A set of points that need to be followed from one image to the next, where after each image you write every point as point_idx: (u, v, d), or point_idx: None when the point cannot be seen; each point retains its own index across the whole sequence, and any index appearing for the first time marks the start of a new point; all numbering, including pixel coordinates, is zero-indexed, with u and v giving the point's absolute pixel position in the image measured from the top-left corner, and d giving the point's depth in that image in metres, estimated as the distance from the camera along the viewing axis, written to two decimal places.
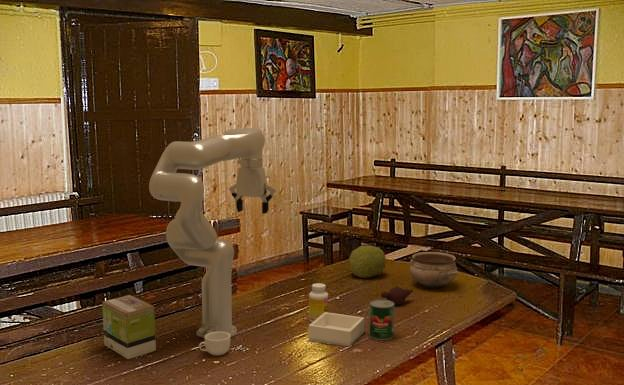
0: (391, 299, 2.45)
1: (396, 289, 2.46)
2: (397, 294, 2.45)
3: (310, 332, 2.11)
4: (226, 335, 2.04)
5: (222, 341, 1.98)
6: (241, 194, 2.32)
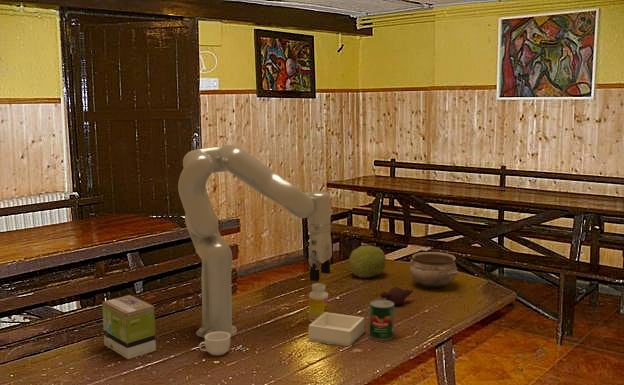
0: (390, 299, 2.45)
1: (396, 289, 2.46)
2: (397, 294, 2.45)
3: (310, 332, 2.11)
4: (226, 335, 2.04)
5: (222, 341, 1.98)
6: (324, 260, 2.23)
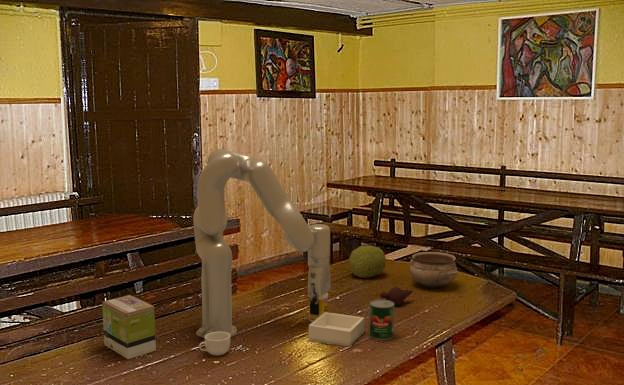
0: (390, 299, 2.45)
1: (395, 289, 2.46)
2: (396, 295, 2.44)
3: (310, 332, 2.11)
4: (226, 335, 2.04)
5: (222, 341, 1.98)
6: (323, 293, 2.25)
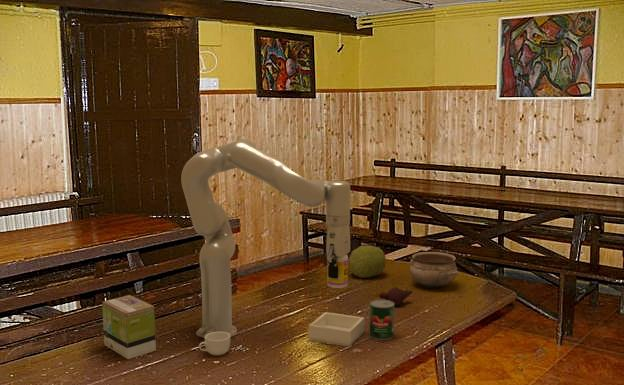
0: (389, 300, 2.44)
1: (394, 290, 2.45)
2: (395, 295, 2.44)
3: (310, 332, 2.11)
4: (226, 335, 2.04)
5: (222, 341, 1.98)
6: (342, 255, 2.08)
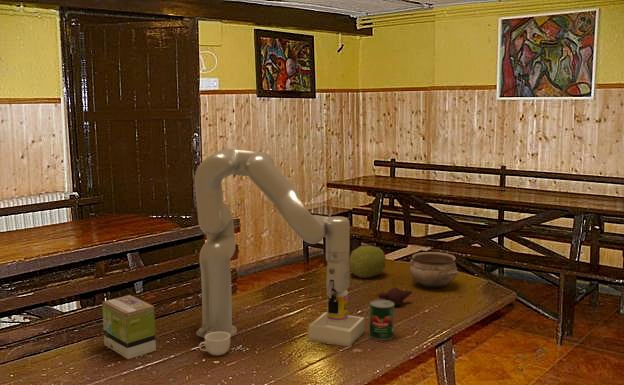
0: (389, 300, 2.44)
1: (394, 290, 2.45)
2: (395, 295, 2.44)
3: (310, 332, 2.11)
4: (226, 335, 2.04)
5: (222, 341, 1.98)
6: (342, 290, 2.10)
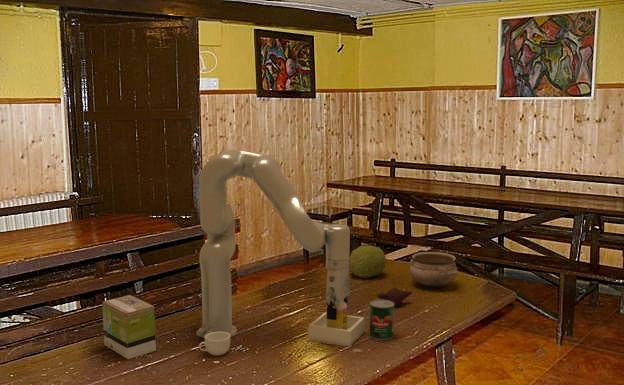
0: None
1: (394, 290, 2.45)
2: (394, 295, 2.43)
3: (310, 332, 2.11)
4: (226, 335, 2.04)
5: (222, 341, 1.98)
6: (342, 298, 2.10)
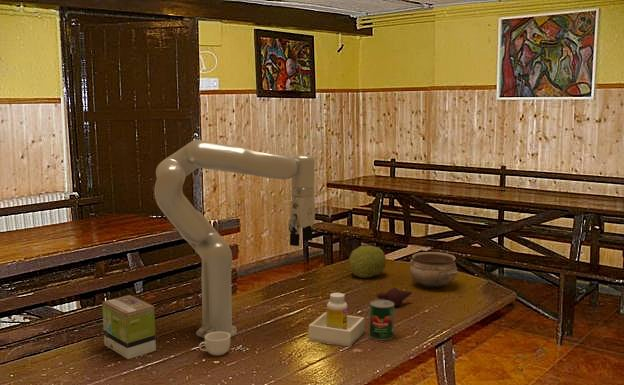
0: None
1: (393, 290, 2.44)
2: (394, 296, 2.43)
3: (310, 332, 2.11)
4: (226, 335, 2.04)
5: (222, 341, 1.98)
6: (305, 225, 2.18)
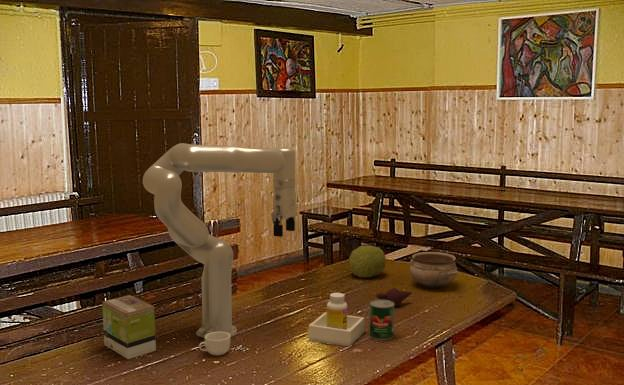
0: None
1: (393, 291, 2.44)
2: (393, 296, 2.43)
3: (310, 332, 2.11)
4: (226, 335, 2.04)
5: (222, 341, 1.98)
6: (288, 216, 2.24)
